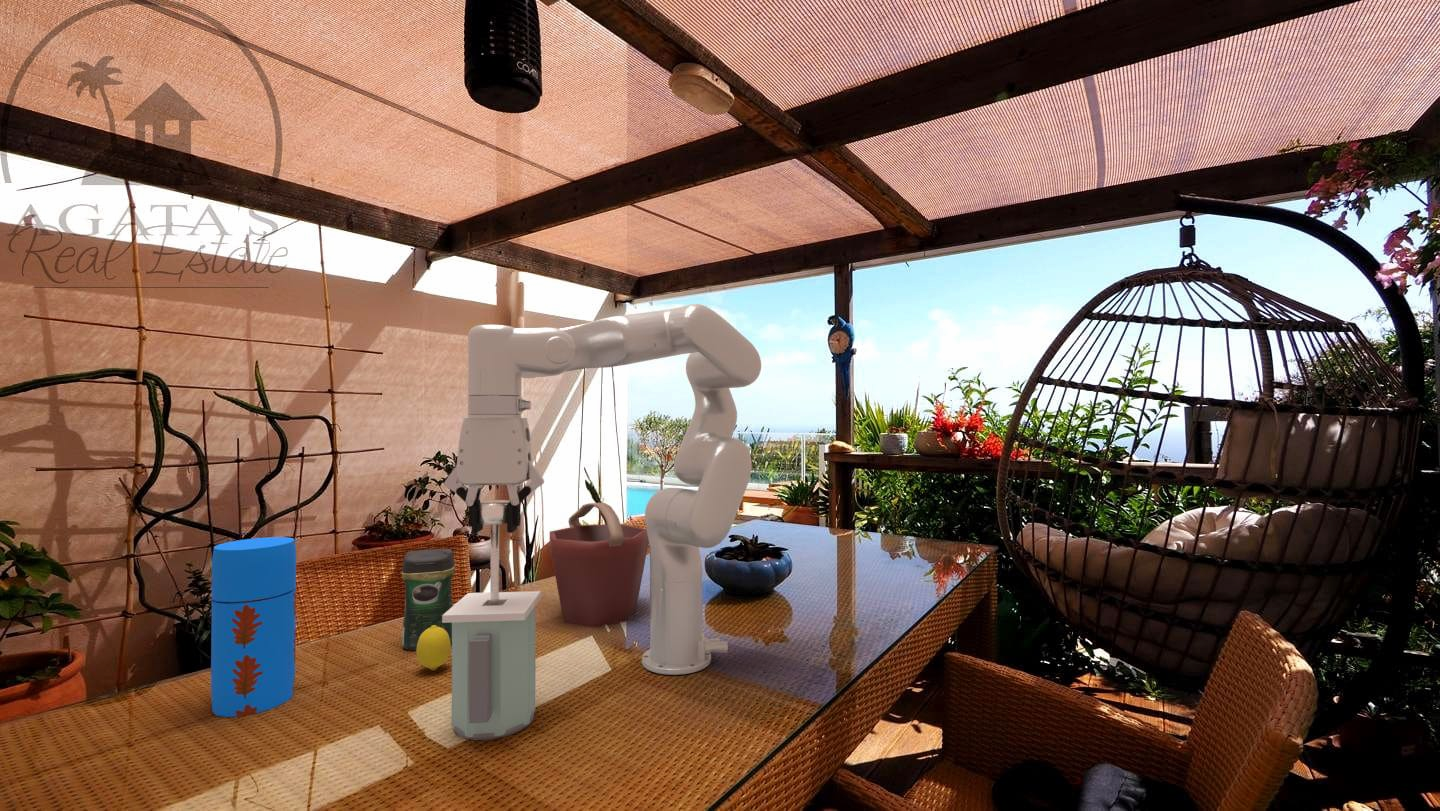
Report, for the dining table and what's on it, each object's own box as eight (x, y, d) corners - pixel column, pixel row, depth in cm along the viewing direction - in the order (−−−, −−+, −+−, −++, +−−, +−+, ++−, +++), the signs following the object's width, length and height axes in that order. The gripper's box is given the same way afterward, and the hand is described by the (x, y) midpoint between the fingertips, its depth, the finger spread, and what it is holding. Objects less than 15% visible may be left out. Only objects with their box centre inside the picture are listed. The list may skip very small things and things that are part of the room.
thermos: (202, 723, 93) (203, 553, 94) (219, 695, 103) (220, 540, 103) (290, 707, 98) (291, 546, 99) (299, 682, 108) (300, 534, 108)
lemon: (437, 678, 109) (437, 631, 109) (409, 675, 110) (409, 629, 110) (457, 665, 115) (457, 621, 115) (429, 663, 116) (430, 619, 116)
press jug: (520, 747, 86) (520, 618, 86) (435, 750, 85) (435, 621, 86) (541, 702, 100) (541, 591, 100) (467, 705, 99) (468, 593, 99)
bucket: (548, 603, 153) (548, 499, 153) (639, 595, 159) (638, 495, 160) (553, 637, 129) (553, 514, 130) (659, 625, 136) (659, 508, 136)
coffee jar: (457, 634, 131) (457, 544, 131) (452, 647, 123) (452, 552, 124) (405, 639, 128) (406, 547, 129) (397, 653, 121) (398, 555, 121)
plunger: (528, 655, 98) (528, 498, 99) (515, 676, 90) (515, 505, 91) (475, 657, 97) (475, 498, 98) (457, 678, 90) (458, 506, 90)
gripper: (556, 408, 99) (557, 526, 99) (445, 409, 98) (445, 528, 97) (547, 408, 91) (547, 535, 91) (426, 408, 90) (426, 537, 90)
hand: (494, 530), depth 94 cm, fingers closed on plunger, 4 cm apart
